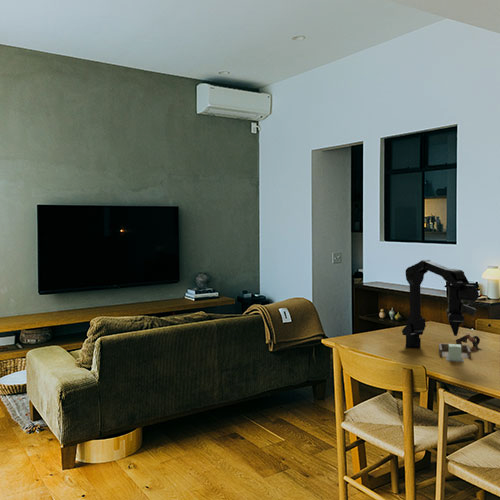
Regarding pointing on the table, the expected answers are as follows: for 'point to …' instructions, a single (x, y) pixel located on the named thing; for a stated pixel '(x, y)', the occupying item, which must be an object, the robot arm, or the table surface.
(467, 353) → the walnut crate
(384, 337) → the table surface
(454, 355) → the sage block
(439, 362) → the table surface
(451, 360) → the slate tile
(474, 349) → the pottery mug
